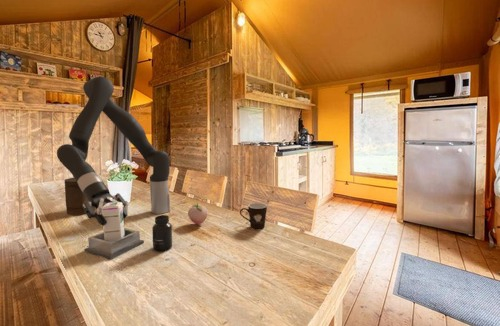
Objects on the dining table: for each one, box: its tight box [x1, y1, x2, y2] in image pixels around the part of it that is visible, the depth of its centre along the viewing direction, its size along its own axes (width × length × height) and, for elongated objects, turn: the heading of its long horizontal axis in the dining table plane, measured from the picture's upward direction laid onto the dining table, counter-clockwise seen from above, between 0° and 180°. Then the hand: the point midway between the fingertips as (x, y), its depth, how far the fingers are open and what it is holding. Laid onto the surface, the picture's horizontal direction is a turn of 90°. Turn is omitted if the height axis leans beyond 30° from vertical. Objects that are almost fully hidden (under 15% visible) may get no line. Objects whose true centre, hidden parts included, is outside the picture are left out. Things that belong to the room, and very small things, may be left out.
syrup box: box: [102, 202, 125, 242], centre depth 91 cm, size 6×6×14 cm
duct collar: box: [84, 227, 145, 260], centre depth 92 cm, size 14×14×5 cm
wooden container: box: [64, 177, 96, 216], centre depth 134 cm, size 15×15×22 cm
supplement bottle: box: [151, 214, 173, 253], centre depth 91 cm, size 7×7×12 cm
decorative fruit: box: [187, 203, 209, 225], centre depth 115 cm, size 9×8×10 cm
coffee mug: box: [239, 202, 268, 230], centre depth 113 cm, size 12×9×10 cm
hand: (115, 220), depth 91 cm, fingers closed on syrup box, 8 cm apart
